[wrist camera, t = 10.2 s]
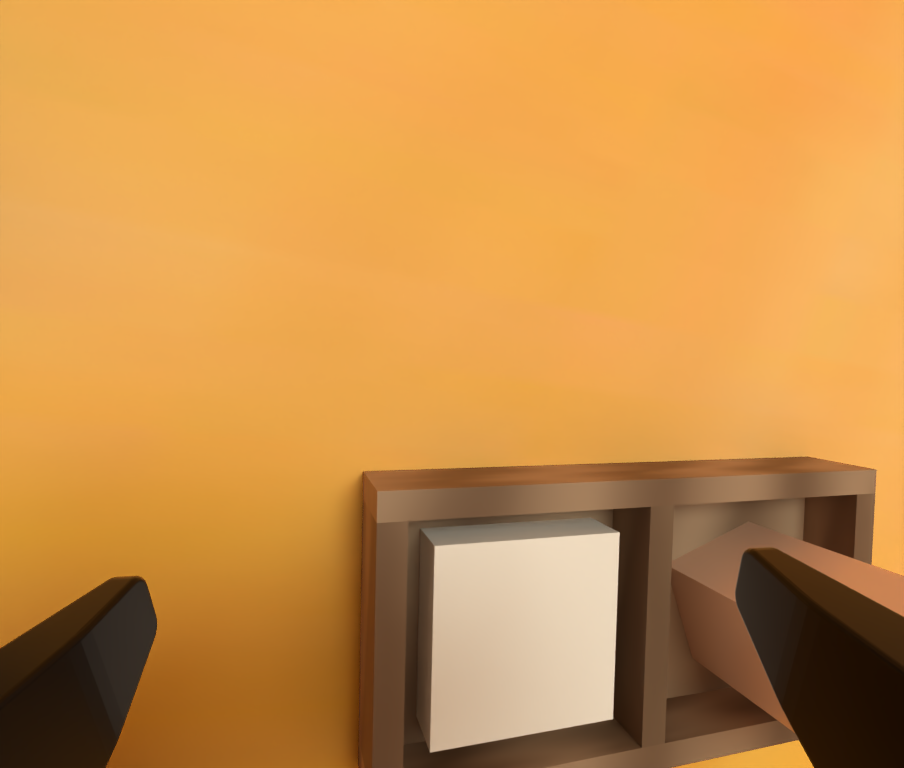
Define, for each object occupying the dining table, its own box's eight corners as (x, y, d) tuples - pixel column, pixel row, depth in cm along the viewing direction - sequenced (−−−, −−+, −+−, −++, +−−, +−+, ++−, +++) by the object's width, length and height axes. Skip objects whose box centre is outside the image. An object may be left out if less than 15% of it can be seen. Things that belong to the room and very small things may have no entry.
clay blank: (692, 658, 24) (959, 854, 15) (665, 564, 24) (926, 704, 14) (771, 612, 25) (1067, 765, 16) (748, 521, 25) (1040, 624, 15)
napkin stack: (585, 688, 23) (613, 719, 21) (416, 716, 21) (429, 752, 19) (591, 517, 22) (619, 532, 21) (420, 528, 20) (434, 546, 19)
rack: (808, 456, 27) (876, 469, 24) (796, 684, 27) (862, 725, 24) (363, 471, 21) (377, 491, 18) (358, 764, 21) (370, 833, 18)
